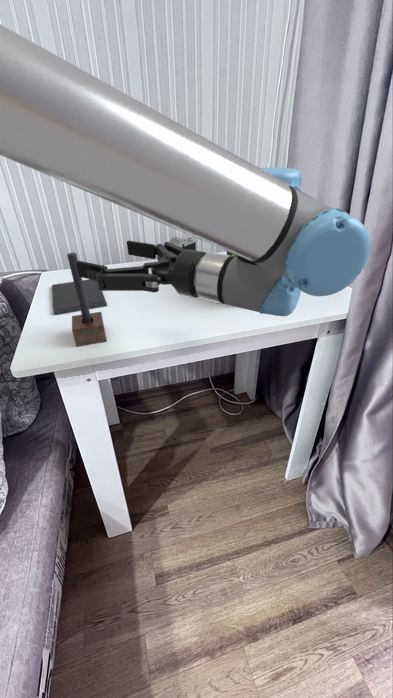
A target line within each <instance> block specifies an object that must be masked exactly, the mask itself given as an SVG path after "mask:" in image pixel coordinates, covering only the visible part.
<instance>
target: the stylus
mask: <svg viewBox="0 0 393 698" xmlns="http://www.w3.org/2000/svg"><path fill="white" fill-rule="evenodd" d="M66 256H67V260H68V264H69V268H70V272H71V276H72V280H73V281H72V282H74V285H75V289H76V293H77V297H78V301H79V305H80V310H81V311H80V315H82V318H83V322H84V323H89V322H92V321H91V316H90V313H91V312H90V309H89V307H88V303H87V298H86V294H85V290H84V285H83V281H82V280H83V278H82V277H79V274H78V269H77V265H76V262H77V261H79V259H78V255H77V253H76V252H69V253H67V254H66Z"/></svg>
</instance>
